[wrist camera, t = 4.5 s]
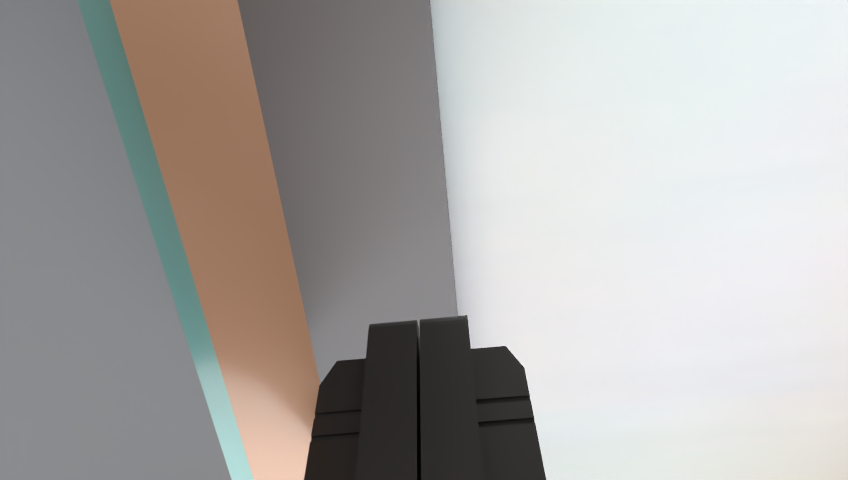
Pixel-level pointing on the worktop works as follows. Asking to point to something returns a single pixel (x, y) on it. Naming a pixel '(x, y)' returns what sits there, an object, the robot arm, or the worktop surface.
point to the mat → (136, 249)
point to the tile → (214, 218)
